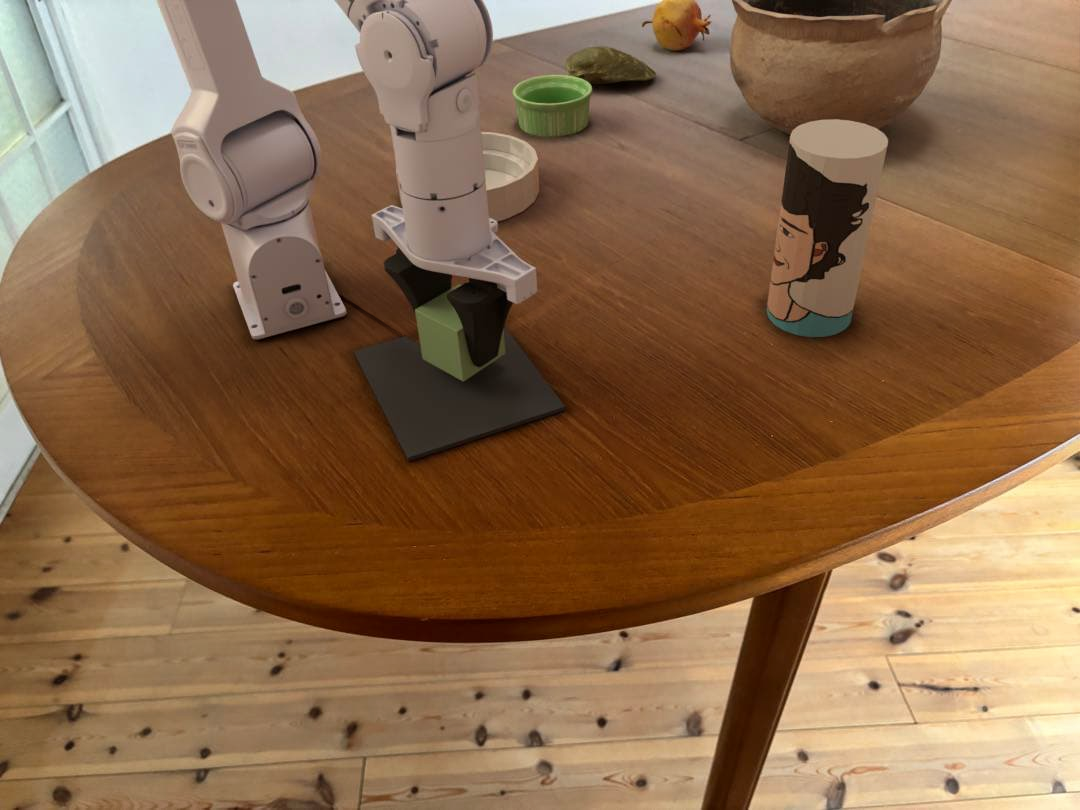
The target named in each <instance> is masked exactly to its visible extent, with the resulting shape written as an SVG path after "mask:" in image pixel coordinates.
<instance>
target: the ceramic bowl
mask: <svg viewBox="0 0 1080 810" xmlns="http://www.w3.org/2000/svg"><path fill="white" fill-rule="evenodd" d="M952 1H953V0H731V3H732V5H733V9H734V11H735V13H736V19H735V21H734V24H733V26H732V29H731V35H730V40H729V41H730V44H729V65H730V70H731V75H732V78H733V80H734V82H735V84H736V85H737V87H738V89H739V91H740V93H741V95H742V96H743V98H744V99H745V101H746V103H747V105H748V106H749V107H750V108H751V109H752V110H753V111H754V112H755V113H756V114H757V115H759V116H760V118H761V119H762V120H763V121H765V122H766V123H767V124H769V125H770V126H772V127H773V128H774V129H776V130H778V131H780V132H783V133H785V134H788V135H790V136H791V133H792V131H793V130H794V129H795V128H796V127H798V126H799V125H802V124H805V123H808V122H812V121H818V120H834V119H837V120H848V121H854V122H859V123H863V124H866V125H869V126H872V127H874V128H877V129H878V130H880V129H882V128H884V127H885V126H888V125H889V124H891V123H892V122H893V121H894V120H897V118H898V117H900V116H901V115H902V114H903V113H904V112H905V111H906V110H907V109H908V108H909V107H911V105H913V103H914V102H915V101H916V100H917V99H918V98H919V96H920V95H922V93H923V91H924V89H925V88H926V86H927V85H928V83H929V82H930V80H931V78H932V77H933V75H934V73H935V70H936V68H937V66H938V64H939V60H940V57H941V51H942V49H941V48H942V41H943V40H942V39H943V38H942V37H943V35H942V34H943V26H942V20H943V17H944V15H945V14H946V12H947V10H948V8H949V6H950V4H951V3H952Z"/></svg>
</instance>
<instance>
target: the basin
mask: <svg viewBox="0 0 1080 810" xmlns="http://www.w3.org/2000/svg"><path fill="white" fill-rule="evenodd" d="M481 134H482V145H483V157H484V168H485V179H486V190H487V202H488V213H489V218H491V219H494V220H496V221H497V222H500V221H501V222H502V221H505V220H508V219H510V218H511V217H514V216H516V215H518V214H521V213H523V212H524V211H526V209H528V208H529V207H530V206H531V205H533V204H534V203H535V201H536V199H537V198H538V194H539V193H540V177H539V158H538V155H537V151H536V149H535V148H534V147H533V146H532V145H531V144H529V142H527V141H525V140H523V139H522V138H521V139H520V138H519V137H516V136H513V135H509V134H504V133H500V132H494V131H493V132H491V131H481ZM395 174H396V180H397V181H396V183H397V188H398V192H399V193H398V194H399V200H400V205H402V202H401V195H400V189H399V180H398V174H397V167H396V166H395Z"/></svg>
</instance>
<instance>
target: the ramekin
mask: <svg viewBox="0 0 1080 810" xmlns="http://www.w3.org/2000/svg"><path fill="white" fill-rule="evenodd" d="M592 94H593V86H592V84H590V83H588V82H587V81H585V80H583V79H581V78H578V77H573V76H570V75H565V74H547V75H546V74H545V75H539V76H538V75H537V76H534V77H530V78H528V79H525V80H522V81H521V82H519V83H517V84H516V85H515V86H514V88H513V89H512V96H513V99H514V102H515V107H516V113H517V120H518V126H519V128H520V129H521V130H522V131H523V132H525V133H527V134H530V135H533V136H538V137H543V138H544V137H545V138H552V137H554V138H555V137H565V136H569V135H574V134H576V133H579V132H581V131H583V130H584V129H585V128H587V126H588V125H589V117H590V102H591V98H592Z"/></svg>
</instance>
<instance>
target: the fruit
mask: <svg viewBox="0 0 1080 810" xmlns="http://www.w3.org/2000/svg"><path fill="white" fill-rule="evenodd" d="M702 14H703V13H702V9H701V7H700V5H699V4H698V2H697V0H661V1H660V2H659V3H658V4H657V6H656V8H655V10H654V12H653V17H652V20H645V21H643V22H642V24H641V27H642V28H644V27H645V26H646V25H647V24H652V31H653V34H654V36H655V39H656V41H657V43H658V44H659V46H660V47H662V48H664V49H666V50H668V51H675V52H677V51H683V50H686V49H688V48H689V47H690V46H691V45H692V44H693V42H694V40H696V38H697V37H698V36H699V33H700V34H701V36H702V41H705V35H710V30H709V28H708V26H710V24H711V23H712V20H711V21H710V20H709V19H710V18H711V16H712V15H711V14H708V15H707V16H706V17H705V18H704V19H702V17H703V16H702Z"/></svg>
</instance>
